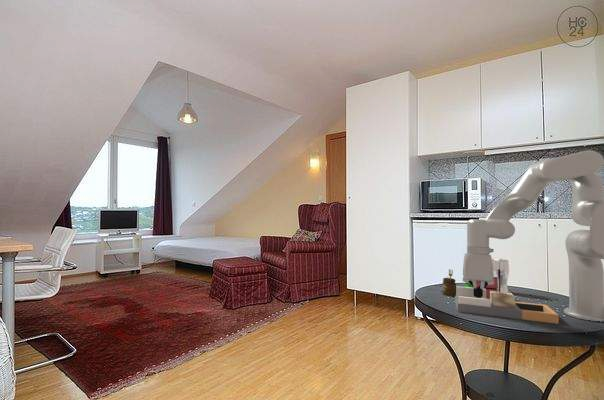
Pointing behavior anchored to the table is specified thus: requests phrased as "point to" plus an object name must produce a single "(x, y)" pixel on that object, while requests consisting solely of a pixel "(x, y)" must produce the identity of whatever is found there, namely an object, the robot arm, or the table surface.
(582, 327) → the table surface
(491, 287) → the puzzle cube
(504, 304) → the block
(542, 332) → the table surface
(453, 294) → the utensil holder
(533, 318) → the grey compartment tray
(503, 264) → the beer glass
